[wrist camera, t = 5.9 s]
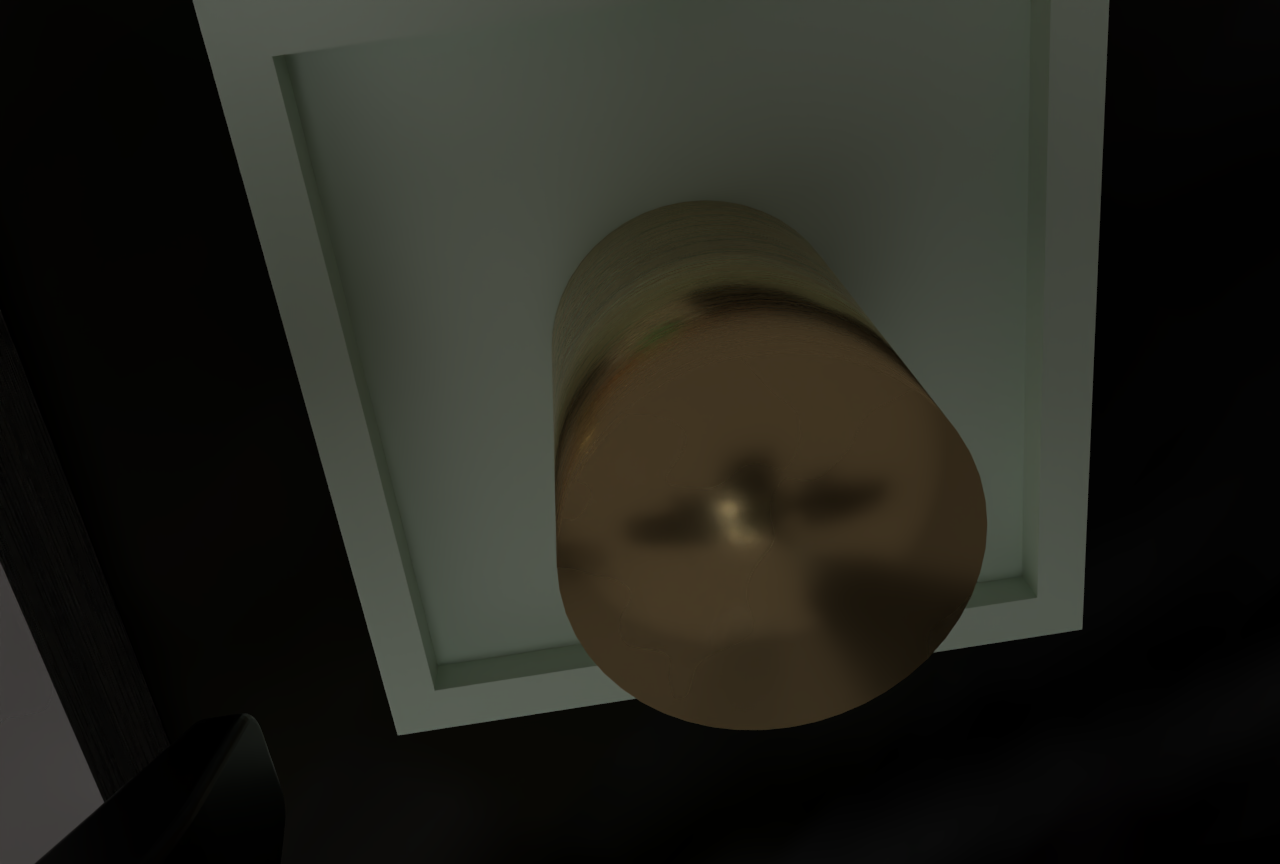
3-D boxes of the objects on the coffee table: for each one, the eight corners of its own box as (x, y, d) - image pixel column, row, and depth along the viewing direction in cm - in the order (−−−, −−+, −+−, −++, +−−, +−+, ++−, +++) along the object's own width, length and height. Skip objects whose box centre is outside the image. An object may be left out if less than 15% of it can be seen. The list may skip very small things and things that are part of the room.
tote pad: (1077, -131, 14) (1115, -133, 13) (1054, 593, 18) (1081, 628, 17) (215, -7, 14) (193, 0, 13) (405, 693, 18) (398, 735, 17)
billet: (837, 178, 15) (987, 321, 10) (853, 455, 16) (987, 696, 11) (528, 225, 15) (521, 391, 10) (576, 497, 16) (590, 758, 11)
